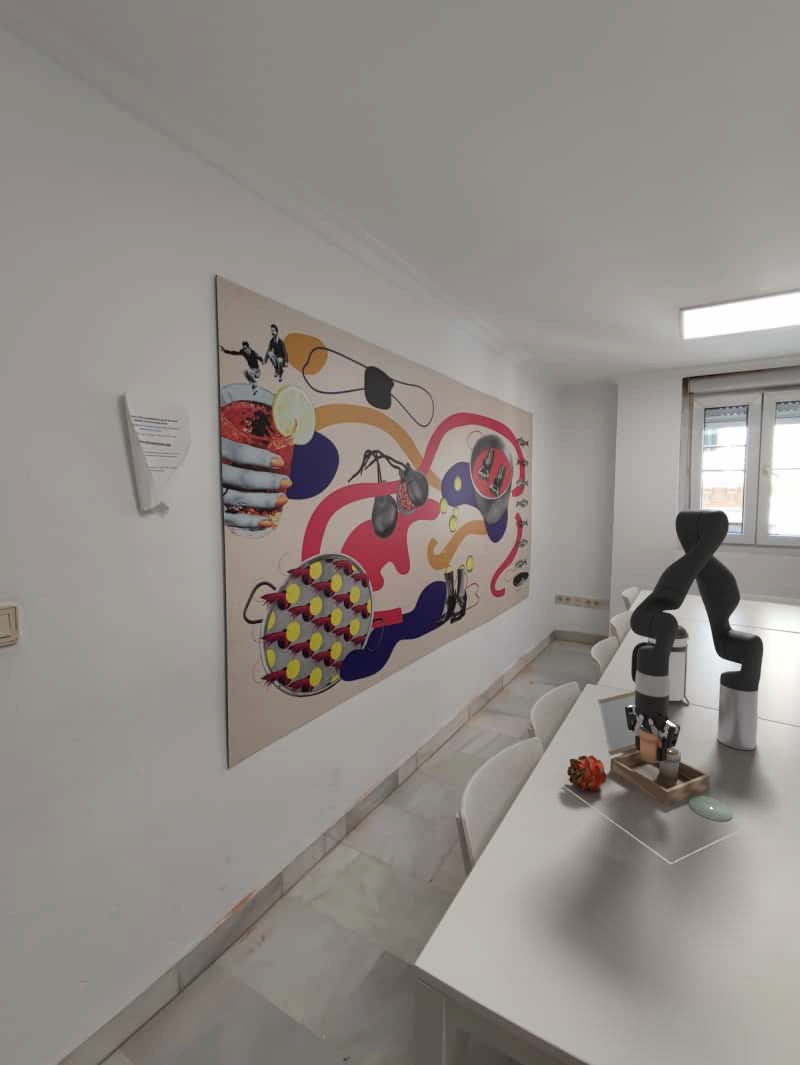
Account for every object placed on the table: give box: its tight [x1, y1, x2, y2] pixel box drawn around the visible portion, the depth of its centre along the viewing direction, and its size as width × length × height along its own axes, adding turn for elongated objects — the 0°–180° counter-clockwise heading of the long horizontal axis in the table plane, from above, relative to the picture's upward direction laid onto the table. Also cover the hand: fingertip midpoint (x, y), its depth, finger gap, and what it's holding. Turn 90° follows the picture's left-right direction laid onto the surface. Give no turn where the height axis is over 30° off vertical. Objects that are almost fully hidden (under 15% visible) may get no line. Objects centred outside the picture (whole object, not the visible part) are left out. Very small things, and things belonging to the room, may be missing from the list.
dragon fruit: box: [567, 755, 607, 793], centre depth 119 cm, size 8×8×12 cm
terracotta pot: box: [638, 727, 663, 763], centre depth 120 cm, size 6×6×7 cm
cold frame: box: [609, 749, 711, 807], centre depth 125 cm, size 16×23×12 cm
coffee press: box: [630, 624, 690, 706], centre depth 171 cm, size 17×16×30 cm
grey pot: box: [659, 746, 682, 780], centre depth 124 cm, size 5×5×7 cm
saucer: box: [688, 795, 733, 822], centre depth 110 cm, size 8×8×1 cm
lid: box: [597, 690, 638, 756], centre depth 131 cm, size 15×14×1 cm
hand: (650, 754), depth 120 cm, fingers closed on terracotta pot, 5 cm apart
